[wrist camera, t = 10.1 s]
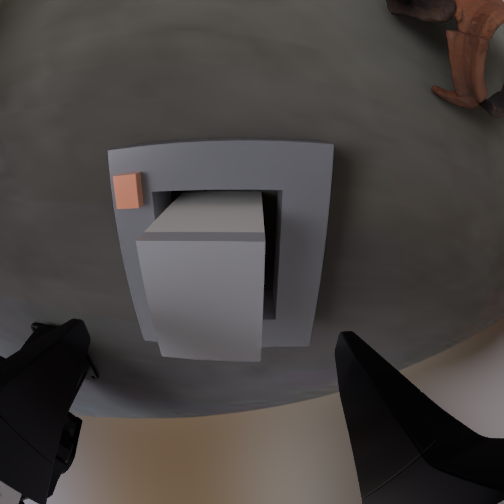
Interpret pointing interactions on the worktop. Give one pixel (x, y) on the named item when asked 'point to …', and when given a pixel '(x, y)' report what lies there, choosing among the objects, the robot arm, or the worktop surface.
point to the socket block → (234, 178)
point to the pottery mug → (463, 46)
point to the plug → (207, 275)
